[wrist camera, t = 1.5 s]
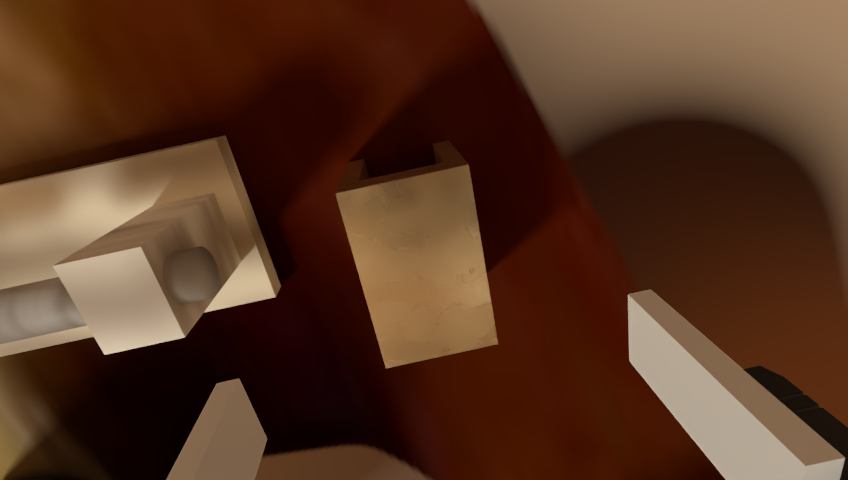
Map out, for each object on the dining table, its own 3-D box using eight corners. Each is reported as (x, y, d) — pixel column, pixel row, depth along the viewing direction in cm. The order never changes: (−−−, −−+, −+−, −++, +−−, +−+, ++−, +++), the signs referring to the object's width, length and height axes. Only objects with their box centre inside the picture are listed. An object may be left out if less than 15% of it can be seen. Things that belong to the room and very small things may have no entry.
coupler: (448, 140, 26) (468, 164, 20) (474, 284, 30) (498, 344, 24) (348, 162, 26) (335, 193, 20) (386, 303, 30) (386, 368, 24)
